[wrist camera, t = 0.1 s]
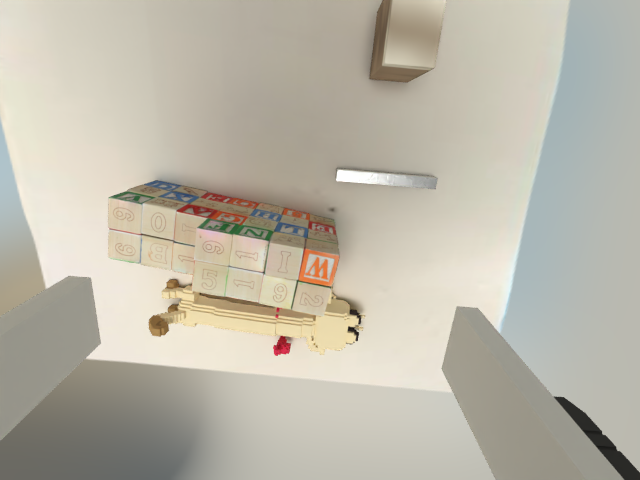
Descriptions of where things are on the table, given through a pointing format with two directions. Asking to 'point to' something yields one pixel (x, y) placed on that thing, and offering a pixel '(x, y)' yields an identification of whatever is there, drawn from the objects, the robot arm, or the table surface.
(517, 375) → the robot arm
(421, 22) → the walnut block
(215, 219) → the stack of blocks
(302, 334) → the cream long toy figure
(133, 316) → the table surface
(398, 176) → the grey bar
